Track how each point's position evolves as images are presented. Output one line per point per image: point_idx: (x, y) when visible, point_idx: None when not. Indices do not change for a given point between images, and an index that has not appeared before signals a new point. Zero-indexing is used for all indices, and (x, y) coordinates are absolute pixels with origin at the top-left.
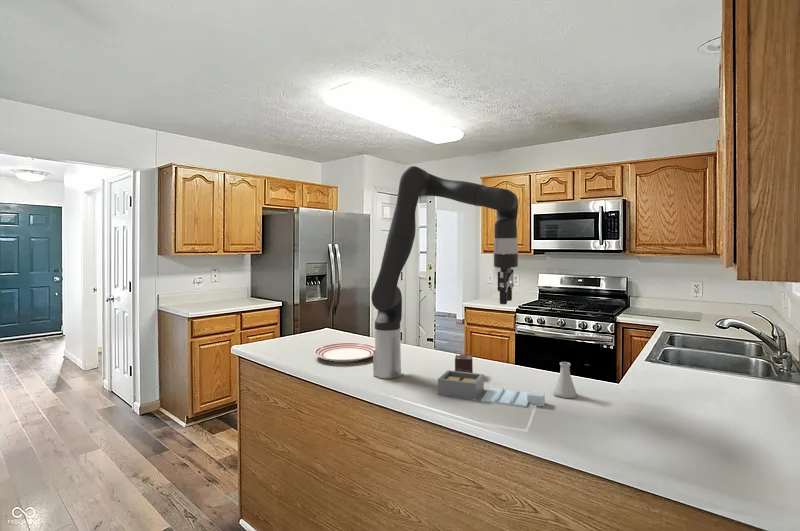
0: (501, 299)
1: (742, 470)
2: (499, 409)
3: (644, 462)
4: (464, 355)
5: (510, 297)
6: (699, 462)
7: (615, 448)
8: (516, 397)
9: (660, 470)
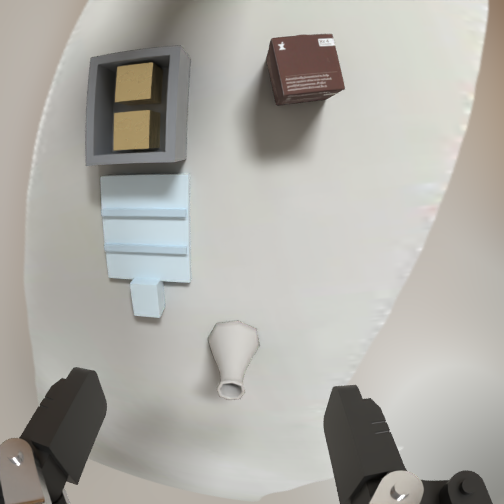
0: (48, 402)
1: None
2: (88, 222)
3: None
4: (328, 62)
5: (328, 440)
6: None
7: (59, 377)
8: (145, 252)
9: None
